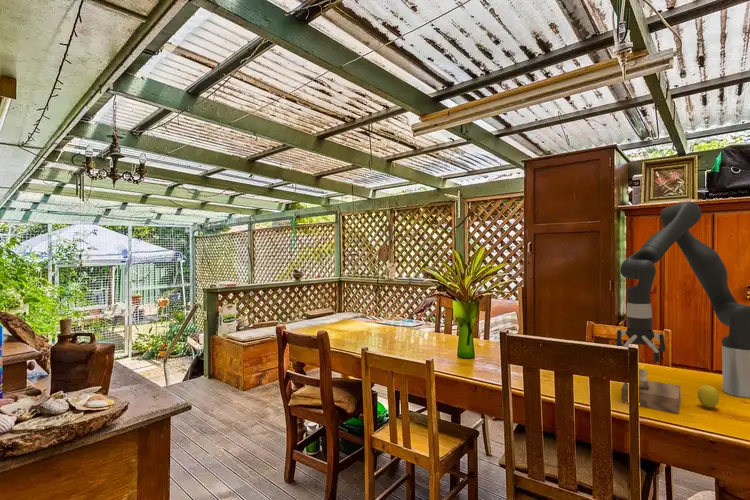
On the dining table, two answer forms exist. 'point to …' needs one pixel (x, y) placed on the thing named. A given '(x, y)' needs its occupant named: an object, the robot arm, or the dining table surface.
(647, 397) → the board
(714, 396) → the lemon
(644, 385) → the peg
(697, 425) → the dining table surface
